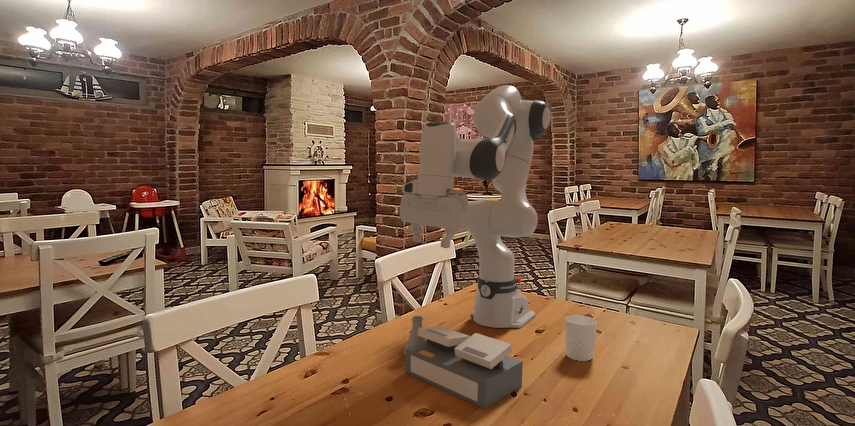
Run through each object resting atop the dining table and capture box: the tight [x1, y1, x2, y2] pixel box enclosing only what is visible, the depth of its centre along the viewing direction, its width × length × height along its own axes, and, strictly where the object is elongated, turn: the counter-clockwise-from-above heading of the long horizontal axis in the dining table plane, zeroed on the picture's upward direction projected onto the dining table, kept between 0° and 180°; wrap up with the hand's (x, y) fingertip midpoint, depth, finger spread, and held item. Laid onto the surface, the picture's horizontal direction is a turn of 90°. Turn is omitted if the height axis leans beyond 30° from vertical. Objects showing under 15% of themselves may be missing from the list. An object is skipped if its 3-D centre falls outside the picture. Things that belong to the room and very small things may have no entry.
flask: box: [403, 315, 427, 357], centre depth 123 cm, size 7×7×10 cm
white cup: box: [564, 314, 598, 362], centre depth 122 cm, size 8×8×10 cm
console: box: [405, 339, 524, 410], centre depth 108 cm, size 14×24×8 cm, turn 46°
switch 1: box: [417, 325, 471, 347], centre depth 112 cm, size 8×10×2 cm
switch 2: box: [454, 332, 513, 369], centre depth 104 cm, size 8×10×2 cm
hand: (430, 244), depth 112 cm, fingers open, 8 cm apart
